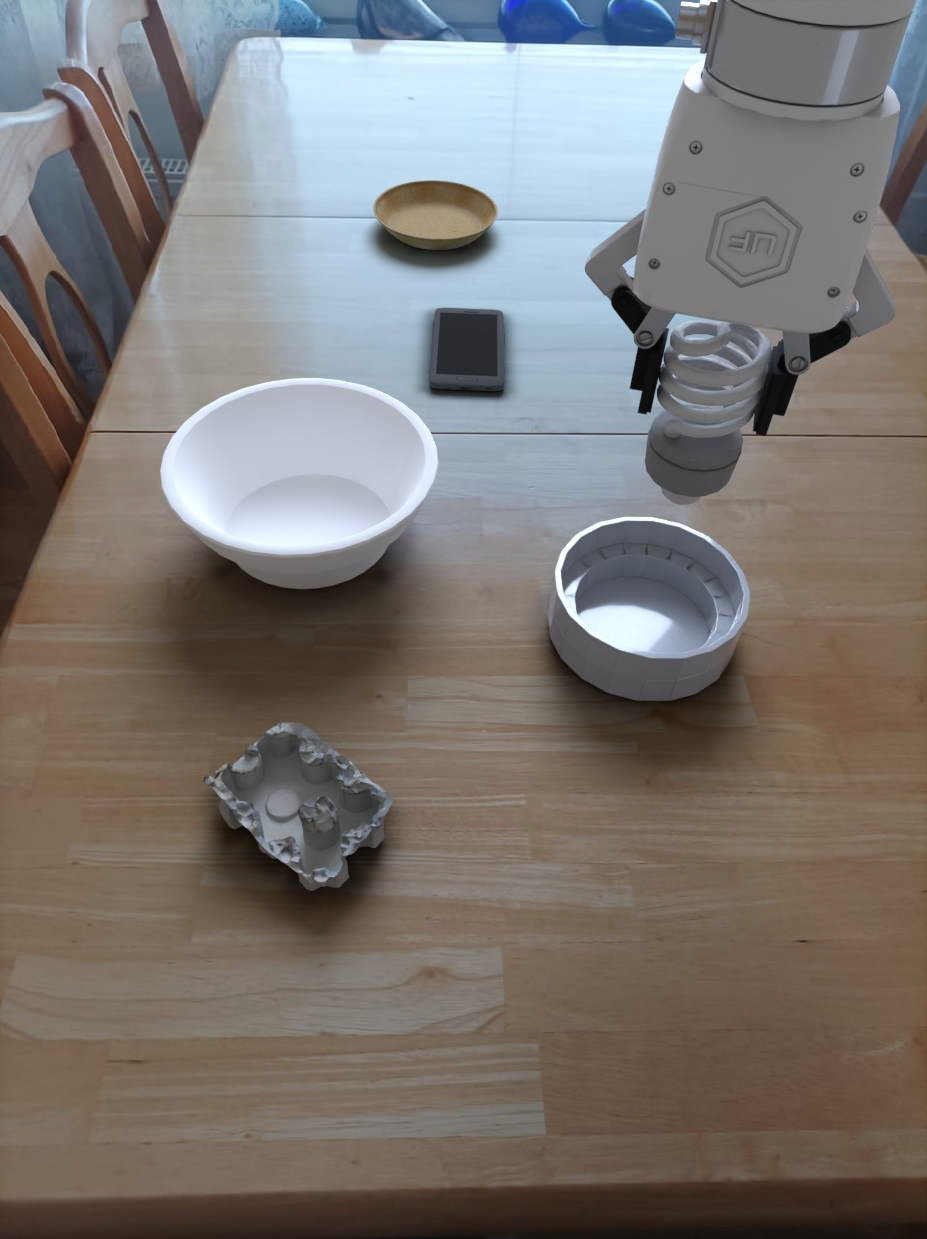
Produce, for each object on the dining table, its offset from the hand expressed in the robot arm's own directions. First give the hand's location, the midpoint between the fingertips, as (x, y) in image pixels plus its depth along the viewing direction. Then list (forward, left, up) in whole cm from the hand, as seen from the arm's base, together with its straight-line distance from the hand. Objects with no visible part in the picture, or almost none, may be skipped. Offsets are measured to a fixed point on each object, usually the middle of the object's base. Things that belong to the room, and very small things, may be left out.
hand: (703, 407), depth 52 cm
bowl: (+28, +4, -23) cm, 37 cm away
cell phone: (+33, -26, -23) cm, 48 cm away
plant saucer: (+51, -45, -23) cm, 72 cm away
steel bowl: (+1, -3, -23) cm, 23 cm away
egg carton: (+11, +24, -23) cm, 35 cm away
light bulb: (0, 0, -7) cm, 7 cm away
